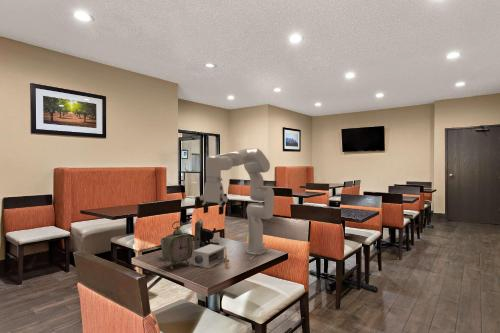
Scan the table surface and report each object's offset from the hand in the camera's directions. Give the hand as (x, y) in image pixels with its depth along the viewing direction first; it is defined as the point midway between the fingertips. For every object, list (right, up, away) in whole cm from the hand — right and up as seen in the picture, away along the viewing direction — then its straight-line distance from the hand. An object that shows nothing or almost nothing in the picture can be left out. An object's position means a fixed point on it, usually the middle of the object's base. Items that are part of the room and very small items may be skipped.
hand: (213, 213), depth 151 cm
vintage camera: (-10, -31, +44) cm, 55 cm away
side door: (+6, -31, +15) cm, 35 cm away
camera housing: (-4, -31, +19) cm, 37 cm away
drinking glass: (-30, -31, +26) cm, 51 cm away
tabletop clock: (-22, -31, +12) cm, 40 cm away
